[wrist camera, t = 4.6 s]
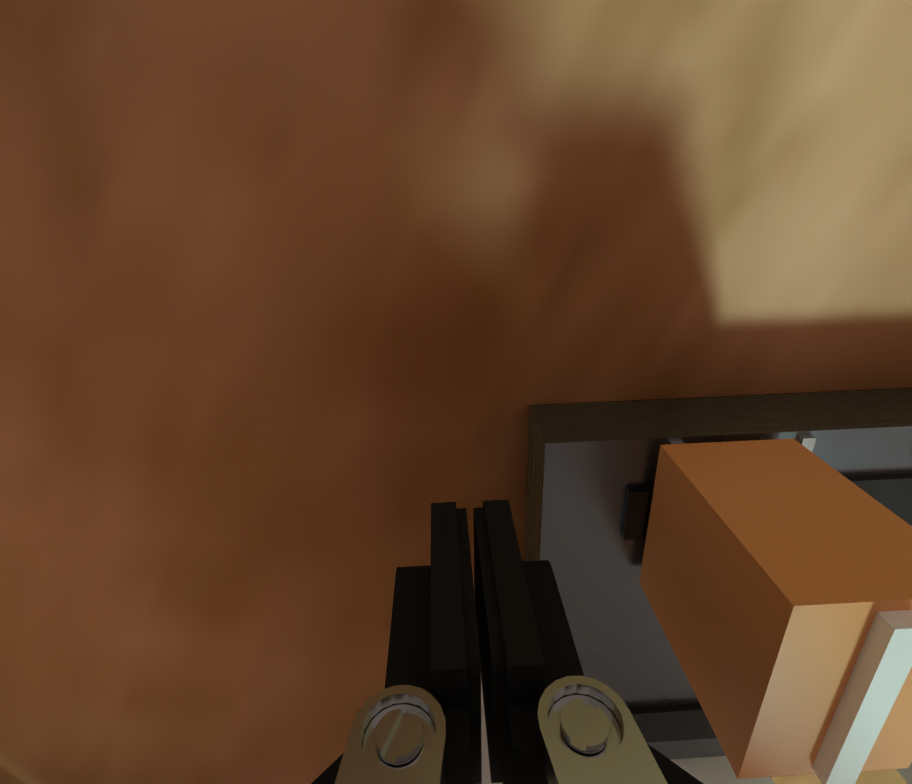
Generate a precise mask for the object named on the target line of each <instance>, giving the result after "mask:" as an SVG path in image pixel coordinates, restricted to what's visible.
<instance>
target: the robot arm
mask: <svg viewBox="0 0 912 784" xmlns="http://www.w3.org/2000/svg"><path fill="white" fill-rule="evenodd" d="M474 583H475V598H474V587H473V577H472V566H471V555H470V545H469V534H468V523H467V513H466V508H461V509H456V502H444V503H431V566H414V567H397V570H396V578H395V589H394V599H393V610H392V620H391V630H390V641H389V651H388V662H387V672H386V683H385V689H383V690H380V691H379V692H377V693H376V694H375V695H373V696H372V697H370V698H369V699H368V700H367V701H366V702H365V703H364V705H363V706H362V707H361V708H360V709H359V711H358V713H357V715H356V717H355V719H354V721H353V724H352V726H351V730H350V733H349V737H348V740H347V743H346V747H345V750H344V753H343V754H342V755H341V756H340V757H339V758H338V759H337V760H336V761H335V762H334V763H332V764H331V765H330V766H329V767H328V768H327V769H326V770H325V771H324V772H323V773H322V774H321V775H320V776H319V777H318V778H317V779H316V780H315V781H314V782H313V783H312V784H482V751H481V680H482V690H483V701H484V712H485V723H486V734H487V744H488V755H489V766H490V776H491V783H503V784H703V783H702V782H700V781H699V780H698V779H696V778H695V777H693V776H692V775H691V774H689V773H688V772H686V771H685V770H684V769H682V768H681V767H679V766H678V765H677V764H675V763H674V762H672V761H671V760H670V759H668V758H667V757H665V756H664V755H663V754H661V753H660V752H658V751H657V750H656V749H654V748H653V747H651V746H650V745H649V744H647V743H646V741H645V739H644V737H643V735H642V733H641V731H640V729H639V727H638V726H637V724H636V722H635V720H634V718H633V716H632V714H631V712H630V710H629V708H628V707H627V706H626V704H625V703H624V701H623V700H622V698H621V697H620V696H619V695H618V694H617V693H616V692H615V691H613V690H612V689H611V688H610V687H609V686H607V685H606V684H604V683H602V682H600V681H598V680H596V679H593V678H589V677H585V676H584V674H583V670H582V667H581V664H580V660H579V657H578V654H577V650H576V647H575V643H574V640H573V637H572V633H571V630H570V627H569V623H568V620H567V617H566V613H565V610H564V606H563V603H562V600H561V596H560V593H559V590H558V586H557V583H556V580H555V576H554V573H553V569H552V567H551V564H550V562H549V561H548V560H540V561H522V559H521V554H520V550H519V545H518V541H517V537H516V532H515V528H514V523H513V519H512V514H511V510H510V505H509V502H508V500H489V501H483V508H474Z"/></svg>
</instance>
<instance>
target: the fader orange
mask: <svg viewBox="0 0 912 784" xmlns="http://www.w3.org/2000/svg"><path fill="white" fill-rule="evenodd" d="M639 583H640V585H641V587H642V589H643V591H644V593H645V595H646V597H647V599H648V601H649V603H650V605H651V607H652V609H653V611H654V613H655V615H656V617H657V619H658V621H659V623H660V625H661V627H662V629H663V631H664V633H665V635H666V637H667V639H668V641H669V643H670V645H671V647H672V649H673V651H674V653H675V655H676V657H677V659H678V661H679V663H680V665H681V667H682V669H683V671H684V673H685V675H686V677H687V679H688V681H689V683H690V685H691V687H692V689H693V691H694V693H695V695H696V697H697V699H698V701H699V703H700V705H701V707H702V709H703V711H704V713H705V715H706V717H707V719H708V721H709V723H710V725H711V727H712V729H713V731H714V733H715V735H716V737H717V739H718V741H719V743H720V745H721V747H722V749H723V751H724V753H725V755H726V757H727V759H728V761H729V763H730V765H731V767H732V769H733V771H734V773H735V775H736V777H737V779H746V778H761V777H776V776H792V775H807V774H817V776H818V778H819V779H820V781H821V782H822V784H855V782H856V780H857V778H858V776H859V774H860V772H861V771H869V770H885V769H900V768H909V766H910V764H911V762H912V526H911V525H909V524H908V523H906V522H905V521H904V520H902V519H901V518H900V517H898V516H897V515H896V514H894V513H893V512H892V511H890V510H889V509H888V508H886V507H885V506H884V505H882V504H881V503H880V502H878V501H877V500H876V499H874V498H873V497H871V496H870V495H869V494H867V493H866V492H865V491H863V490H862V489H861V488H859V487H858V486H857V485H855V484H854V483H853V482H851V481H850V480H849V479H847V478H846V477H845V476H843V475H842V474H841V473H839V472H838V471H836V470H835V469H834V468H832V467H831V466H830V465H828V464H827V463H826V462H824V461H823V460H822V459H820V458H819V457H818V456H816V455H815V454H814V453H812V452H811V451H810V450H808V449H807V448H806V447H804V446H803V445H802V444H800V443H799V442H797V441H796V440H795V439H772V440H751V441H730V442H709V443H688V444H667V445H660V450H659V457H658V463H657V470H656V476H655V483H654V489H653V496H652V502H651V509H650V515H649V522H648V528H647V535H646V541H645V548H644V554H643V561H642V567H641V574H640V580H639Z"/></svg>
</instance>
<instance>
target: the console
mask: <svg viewBox="0 0 912 784" xmlns="http://www.w3.org/2000/svg"><path fill="white" fill-rule="evenodd" d="M772 439H795V440H796V441H797V442H799V443H800V444H802V445H803V446H804V447H806V448H807V449H808V450H810V451H811V452H812V453H814V454H815V455H816V456H818V457H819V458H820V459H822V460H823V461H824V462H826V463H827V464H828V465H830V466H831V467H832V468H834V469H835V470H836V471H838V472H839V473H841V474H842V475H843V476H845V477H846V478H847V479H849V480H850V481H851V482H853V483H854V484H855V485H857V486H858V487H859V488H861V489H862V490H863V491H865V492H866V493H867V494H869V495H870V496H871V497H873V498H874V499H876V500H877V501H878V502H880V503H881V504H882V505H884V506H885V507H886V508H888V509H889V510H890V511H892V512H893V513H894V514H896V515H897V516H898V517H900V518H901V519H902V520H904V521H905V522H906V523H908V524H909V525H911V526H912V388H905V389H883V390H861V391H839V392H817V393H795V394H773V395H751V396H729V397H707V398H685V399H662V400H640V401H618V402H596V403H574V404H552V405H530V414H529V445H528V477H527V508H526V539H525V561H540V560H548V561H549V562H550V564H551V567H552V569H553V573H554V576H555V580H556V583H557V586H558V590H559V593H560V596H561V600H562V603H563V606H564V610H565V613H566V617H567V620H568V623H569V627H570V630H571V633H572V637H573V640H574V643H575V647H576V650H577V654H578V657H579V660H580V664H581V667H582V670H583V674H584V676H585V677H589V678H593V679H596V680H598V681H600V682H602V683H604V684H606V685H607V686H609V687H610V688H611V689H612V690H613V691H615V692H616V693H617V694H618V695H619V696H620V697H621V698H622V700H623V701H624V703H625V704H626V706H627V707H628V708H629V710H630V712H631V714H632V716H633V718H634V720H635V722H636V724H637V726H638V727H639V729H640V731H641V733H642V735H643V737H644V739H645V741H646V743H647V744H649V745H650V746H651V747H653V748H654V749H656V750H657V751H658V752H660V753H661V754H663V755H664V756H665V757H667V758H668V759H685V758H701V757H717V756H726V755H725V753H724V751H723V749H722V747H721V745H720V743H719V741H718V739H717V737H716V735H715V733H714V731H713V729H712V727H711V725H710V723H709V721H708V719H707V717H706V715H705V713H704V711H703V709H702V707H701V705H700V703H699V701H698V699H697V697H696V695H695V693H694V691H693V689H692V687H691V685H690V683H689V681H688V679H687V677H686V675H685V673H684V671H683V669H682V667H681V665H680V663H679V661H678V659H677V657H676V655H675V653H674V651H673V649H672V647H671V645H670V643H669V641H668V639H667V637H666V635H665V633H664V631H663V629H662V627H661V625H660V623H659V621H658V619H657V617H656V615H655V613H654V611H653V609H652V607H651V605H650V603H649V601H648V599H647V597H646V595H645V593H644V591H643V589H642V587H641V585H640V583H639V580H640V574H641V567H642V561H643V554H644V548H645V541H646V535H647V528H648V522H649V515H650V509H651V502H652V496H653V489H654V483H655V476H656V470H657V463H658V457H659V450H660V445H667V444H688V443H709V442H730V441H751V440H772Z"/></svg>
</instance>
